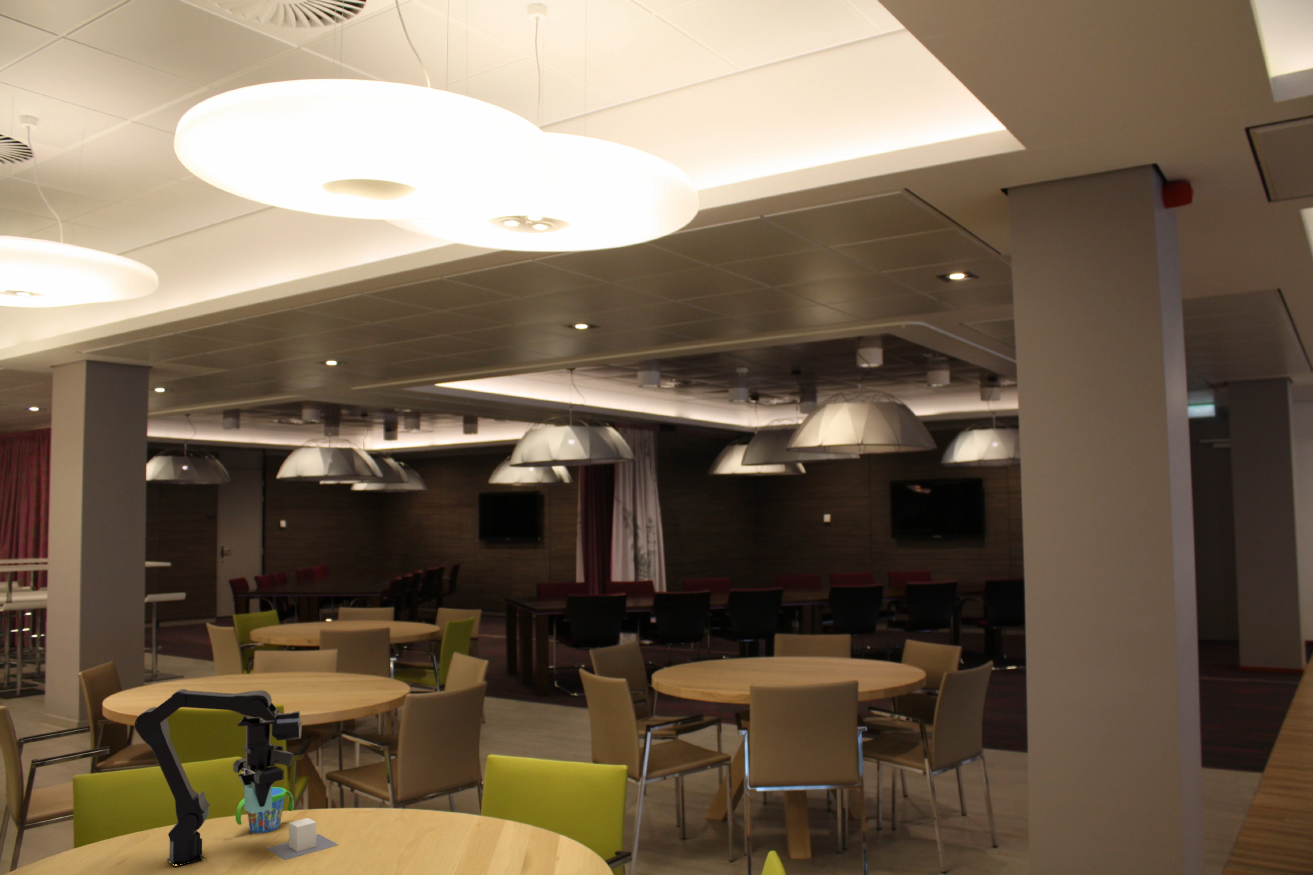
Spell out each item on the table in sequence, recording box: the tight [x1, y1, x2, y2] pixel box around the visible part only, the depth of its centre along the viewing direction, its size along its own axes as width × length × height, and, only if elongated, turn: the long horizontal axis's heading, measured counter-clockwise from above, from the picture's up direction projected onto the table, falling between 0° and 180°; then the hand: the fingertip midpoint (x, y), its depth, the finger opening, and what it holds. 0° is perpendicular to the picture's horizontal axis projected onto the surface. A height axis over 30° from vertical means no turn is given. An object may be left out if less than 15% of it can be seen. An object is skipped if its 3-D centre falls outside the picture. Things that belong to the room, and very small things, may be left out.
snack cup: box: [235, 786, 295, 834], centre depth 257 cm, size 16×10×10 cm
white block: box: [288, 817, 317, 851], centre depth 241 cm, size 5×5×6 cm
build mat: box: [265, 833, 339, 861], centre depth 241 cm, size 14×12×1 cm
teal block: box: [243, 784, 273, 814], centre depth 240 cm, size 5×5×6 cm
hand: (258, 804), depth 240 cm, fingers closed on teal block, 5 cm apart
